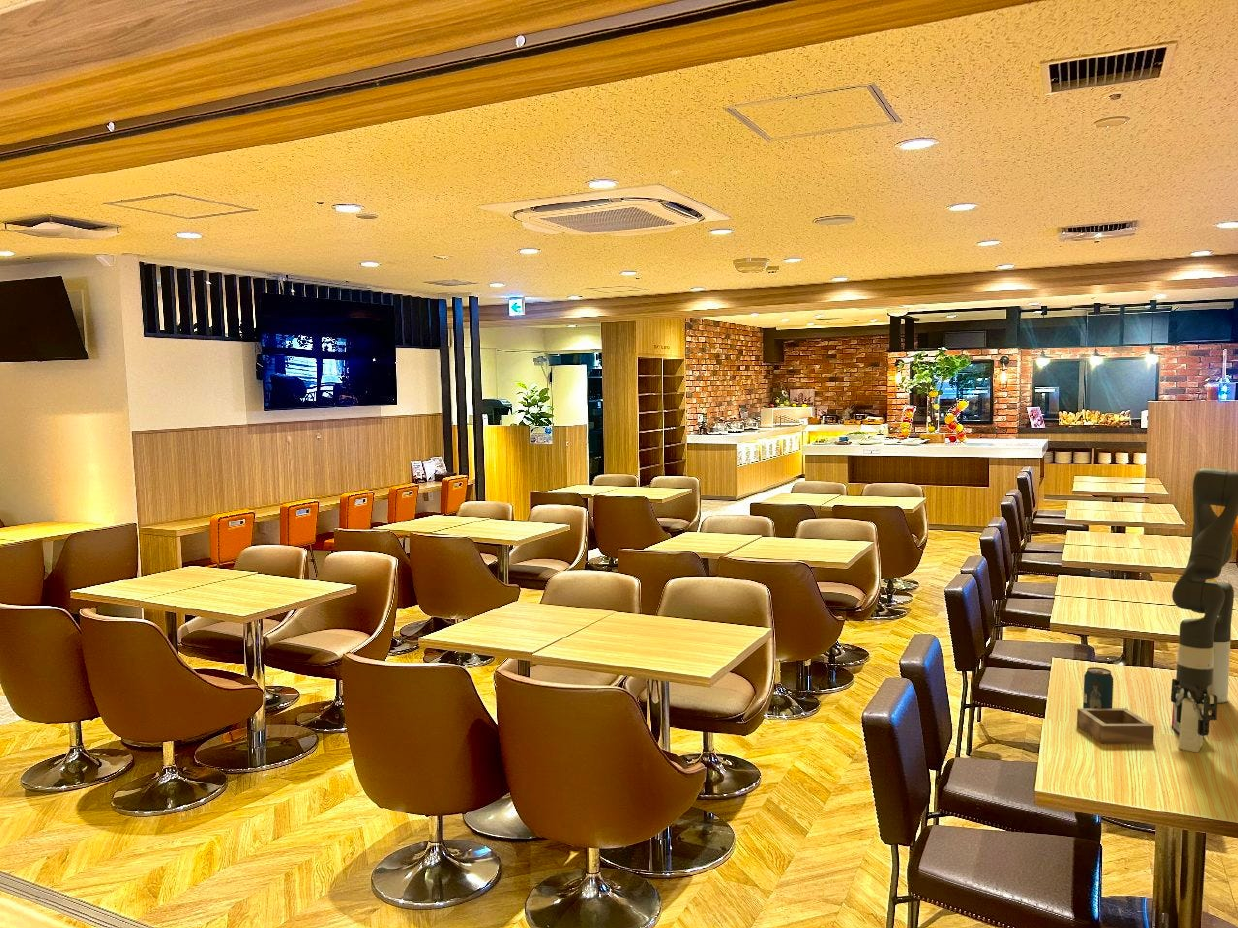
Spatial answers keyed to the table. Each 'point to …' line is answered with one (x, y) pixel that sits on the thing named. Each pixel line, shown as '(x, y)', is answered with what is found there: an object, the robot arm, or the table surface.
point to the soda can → (1098, 688)
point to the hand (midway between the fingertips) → (1192, 728)
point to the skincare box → (1189, 728)
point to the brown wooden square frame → (1115, 726)
